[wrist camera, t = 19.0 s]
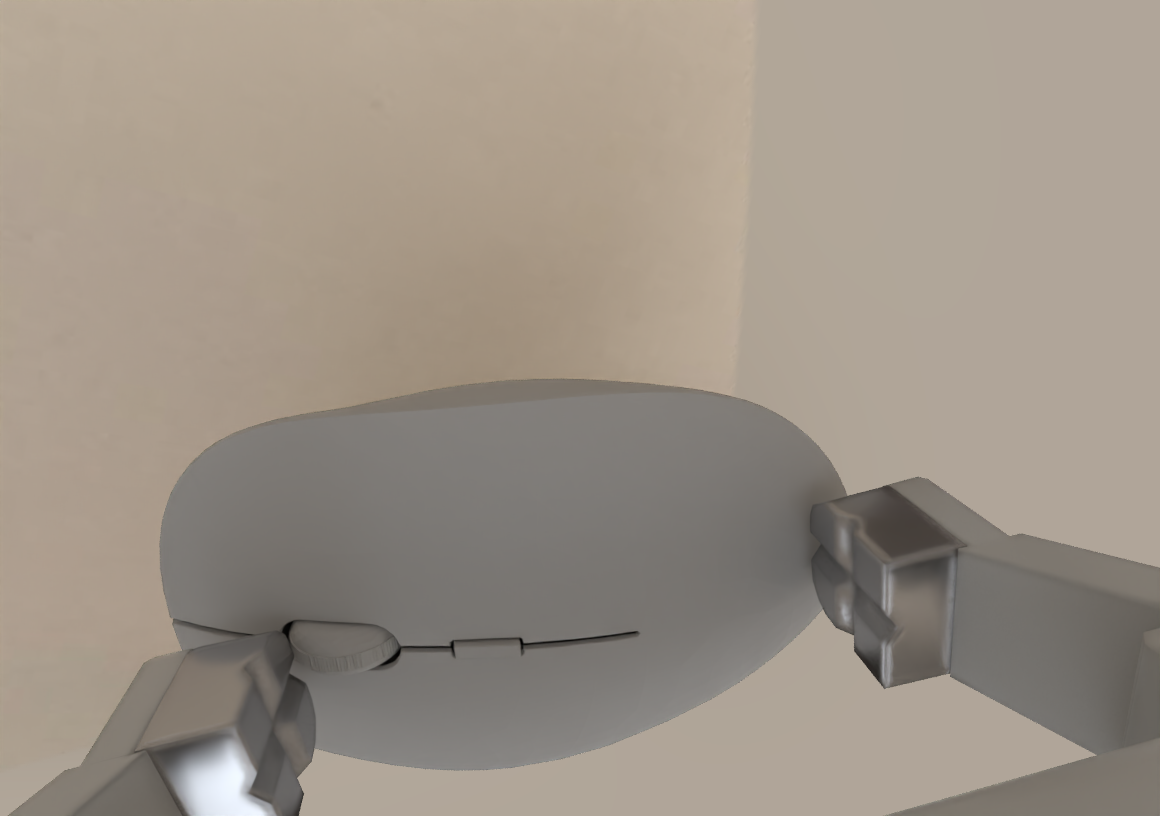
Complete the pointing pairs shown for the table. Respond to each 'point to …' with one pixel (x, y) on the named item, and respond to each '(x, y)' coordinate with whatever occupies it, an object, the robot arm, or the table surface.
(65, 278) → the table surface
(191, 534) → the computer mouse
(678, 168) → the table surface
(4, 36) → the table surface
